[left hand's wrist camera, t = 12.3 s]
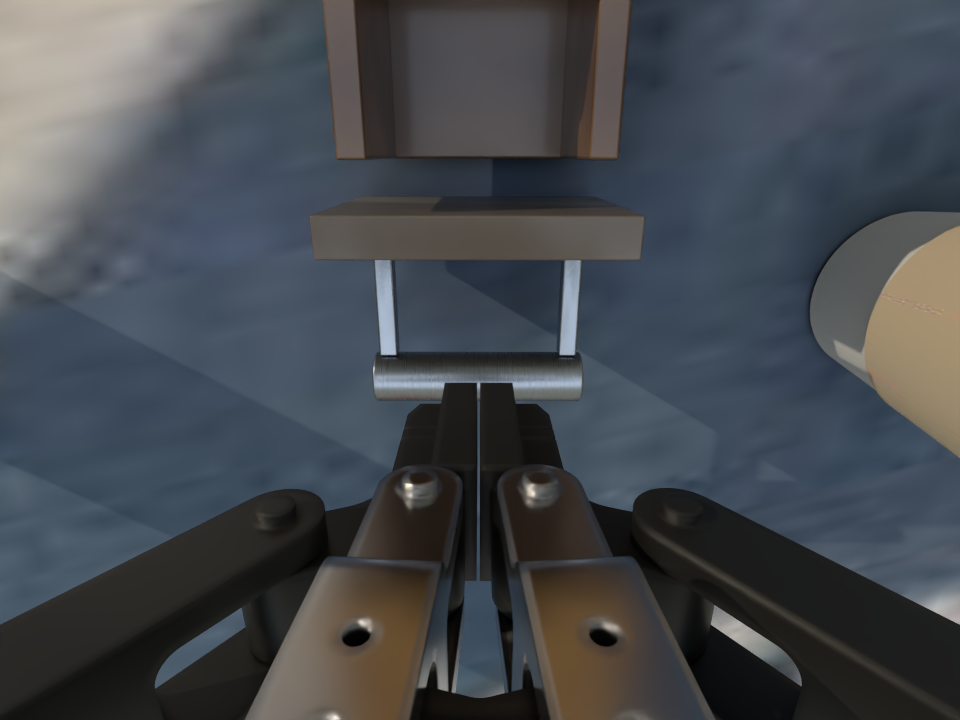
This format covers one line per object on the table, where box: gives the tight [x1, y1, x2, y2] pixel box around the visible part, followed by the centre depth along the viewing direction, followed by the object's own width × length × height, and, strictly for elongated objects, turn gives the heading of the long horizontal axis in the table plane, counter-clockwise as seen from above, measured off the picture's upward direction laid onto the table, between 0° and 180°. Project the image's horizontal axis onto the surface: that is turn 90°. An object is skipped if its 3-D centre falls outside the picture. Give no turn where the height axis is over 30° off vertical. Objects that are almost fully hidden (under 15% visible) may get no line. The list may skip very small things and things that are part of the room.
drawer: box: [310, 0, 645, 401], centre depth 16 cm, size 24×9×7 cm, turn 0°
